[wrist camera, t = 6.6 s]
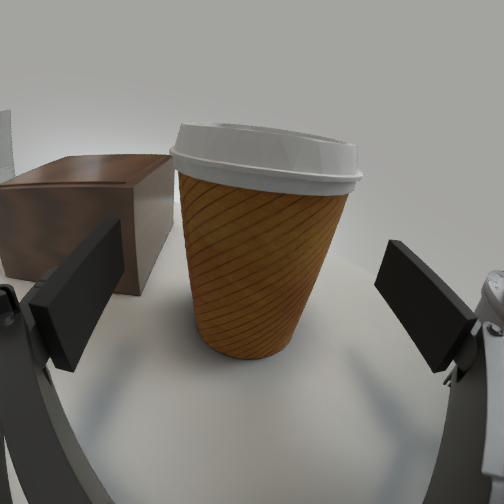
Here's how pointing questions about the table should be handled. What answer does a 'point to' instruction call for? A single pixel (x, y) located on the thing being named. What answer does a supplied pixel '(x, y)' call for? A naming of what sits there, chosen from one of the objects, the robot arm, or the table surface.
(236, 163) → the disposable coffee cup
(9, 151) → the cosmetic box
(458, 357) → the robot arm
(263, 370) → the table surface
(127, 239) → the walnut riser
